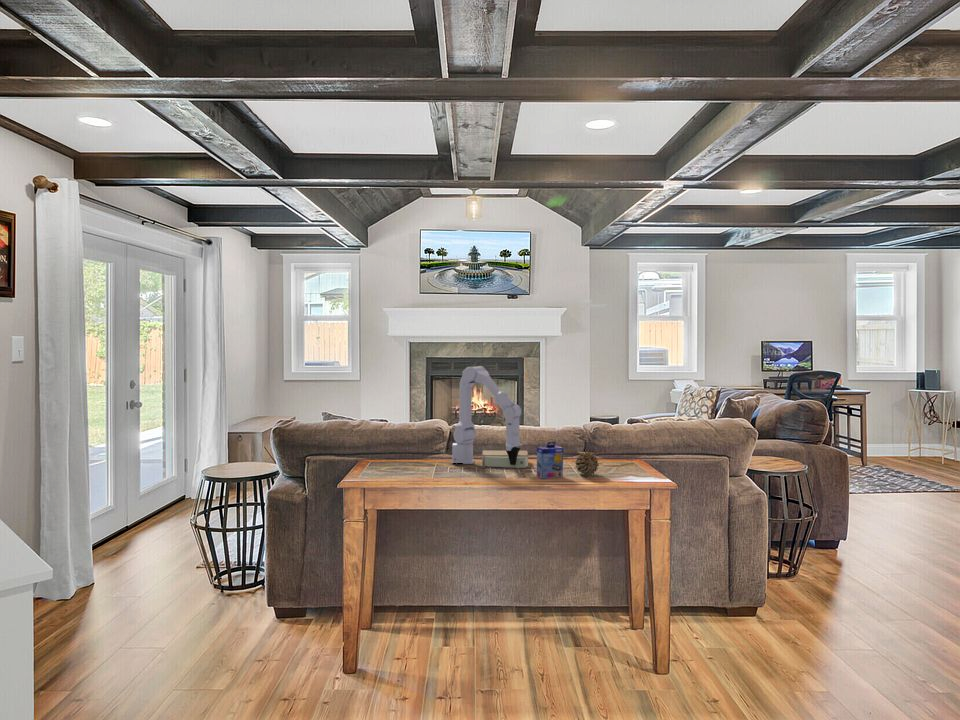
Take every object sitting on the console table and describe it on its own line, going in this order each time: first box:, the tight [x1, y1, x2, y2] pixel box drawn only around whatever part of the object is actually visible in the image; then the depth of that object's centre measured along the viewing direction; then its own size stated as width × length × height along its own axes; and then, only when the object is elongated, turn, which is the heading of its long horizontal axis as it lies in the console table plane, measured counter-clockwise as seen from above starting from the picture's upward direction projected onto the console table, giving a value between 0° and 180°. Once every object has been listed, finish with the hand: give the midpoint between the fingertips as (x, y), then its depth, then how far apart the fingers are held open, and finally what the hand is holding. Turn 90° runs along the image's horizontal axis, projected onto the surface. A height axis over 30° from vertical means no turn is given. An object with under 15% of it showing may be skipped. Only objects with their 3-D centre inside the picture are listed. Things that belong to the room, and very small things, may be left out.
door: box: [482, 456, 526, 469], centre depth 287 cm, size 18×2×4 cm, turn 78°
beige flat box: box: [481, 449, 529, 467], centre depth 295 cm, size 20×12×5 cm, turn 88°
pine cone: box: [574, 451, 600, 476], centre depth 274 cm, size 22×10×10 cm, turn 2°
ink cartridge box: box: [536, 441, 564, 480], centre depth 267 cm, size 10×6×14 cm, turn 113°
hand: (512, 464), depth 284 cm, fingers closed
